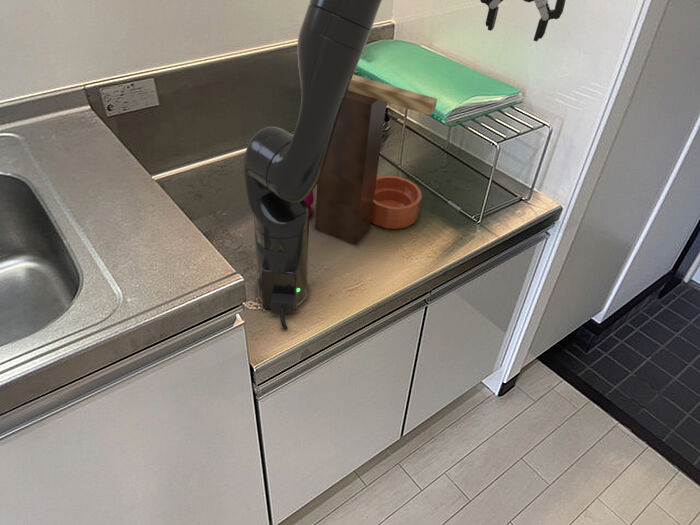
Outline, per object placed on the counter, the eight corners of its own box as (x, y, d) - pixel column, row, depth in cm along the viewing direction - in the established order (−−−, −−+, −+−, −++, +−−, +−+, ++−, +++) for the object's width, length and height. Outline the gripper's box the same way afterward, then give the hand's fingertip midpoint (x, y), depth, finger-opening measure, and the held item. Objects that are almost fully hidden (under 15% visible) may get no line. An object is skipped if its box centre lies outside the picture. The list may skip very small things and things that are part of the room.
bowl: (418, 232, 120) (423, 211, 116) (361, 228, 120) (364, 206, 116) (415, 199, 129) (419, 178, 125) (363, 194, 129) (365, 173, 125)
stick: (435, 110, 94) (437, 98, 92) (430, 115, 92) (432, 103, 91) (314, 74, 101) (315, 63, 99) (308, 78, 99) (308, 67, 98)
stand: (370, 227, 120) (388, 90, 98) (355, 245, 115) (371, 104, 94) (330, 212, 123) (339, 76, 101) (315, 229, 118) (321, 89, 97)
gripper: (491, -70, 88) (470, 32, 99) (581, -54, 84) (548, 50, 95) (503, -78, 93) (481, 20, 104) (587, -63, 89) (555, 37, 100)
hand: (513, 34), depth 100 cm, fingers open, 8 cm apart
